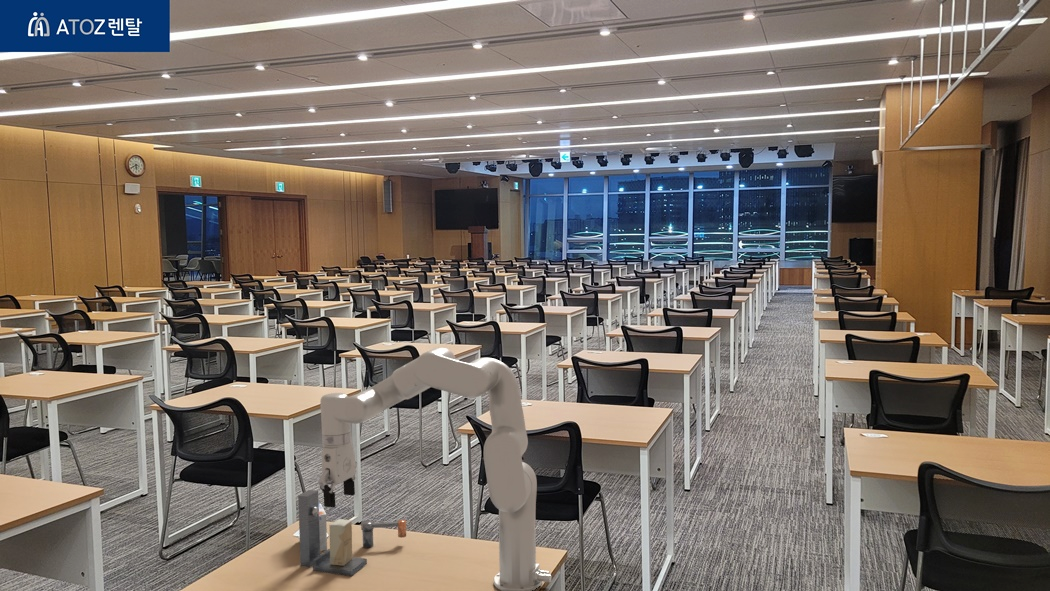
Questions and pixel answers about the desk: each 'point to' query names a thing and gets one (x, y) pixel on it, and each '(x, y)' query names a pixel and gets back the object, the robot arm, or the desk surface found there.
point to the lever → (371, 525)
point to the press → (318, 540)
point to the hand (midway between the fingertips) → (339, 500)
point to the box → (340, 542)
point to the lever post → (367, 539)
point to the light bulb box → (322, 528)
